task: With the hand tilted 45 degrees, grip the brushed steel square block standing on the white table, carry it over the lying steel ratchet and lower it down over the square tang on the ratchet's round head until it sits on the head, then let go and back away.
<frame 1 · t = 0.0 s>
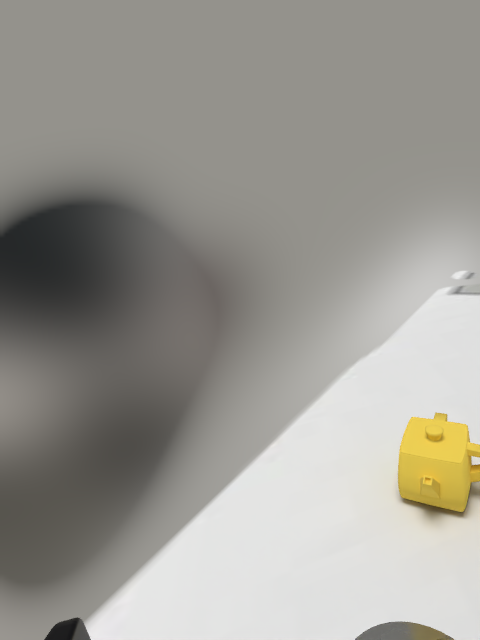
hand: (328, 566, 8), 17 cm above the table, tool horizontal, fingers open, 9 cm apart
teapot: (445, 494, 30), on the table
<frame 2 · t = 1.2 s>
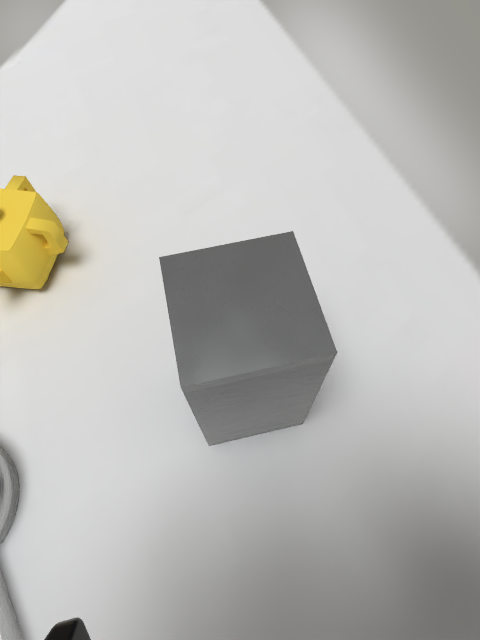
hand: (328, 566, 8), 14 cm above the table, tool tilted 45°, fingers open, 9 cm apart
brushed steel square block: (245, 389, 23), on the table
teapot: (38, 266, 28), on the table
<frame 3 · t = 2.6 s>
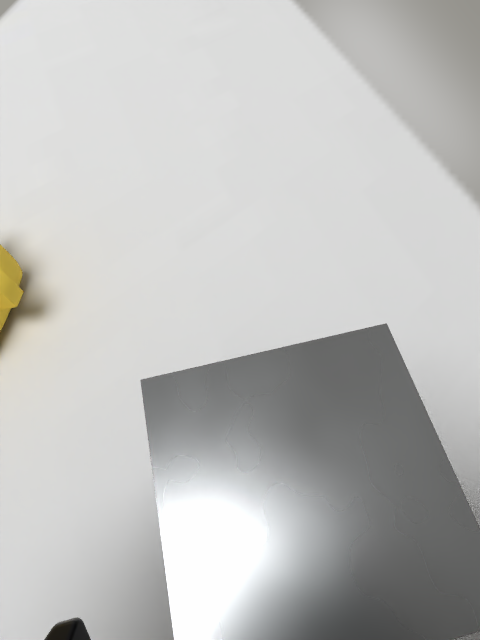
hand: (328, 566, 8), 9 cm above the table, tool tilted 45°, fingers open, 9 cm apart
brushed steel square block: (275, 510, 16), on the table
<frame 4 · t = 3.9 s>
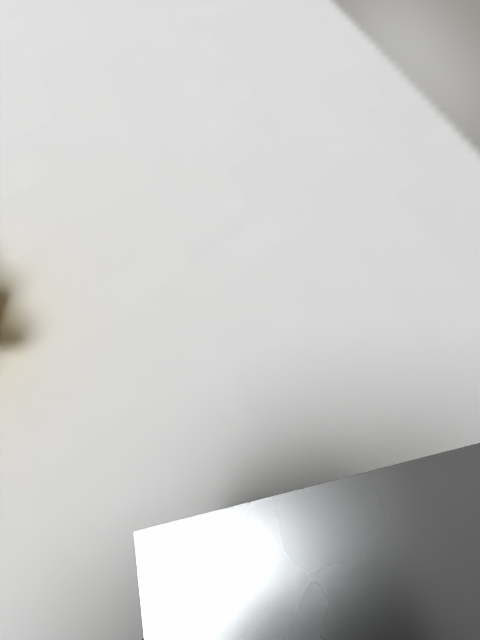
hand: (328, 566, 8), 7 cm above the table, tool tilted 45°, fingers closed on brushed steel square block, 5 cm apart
brushed steel square block: (307, 599, 13), on the table, touching gripper
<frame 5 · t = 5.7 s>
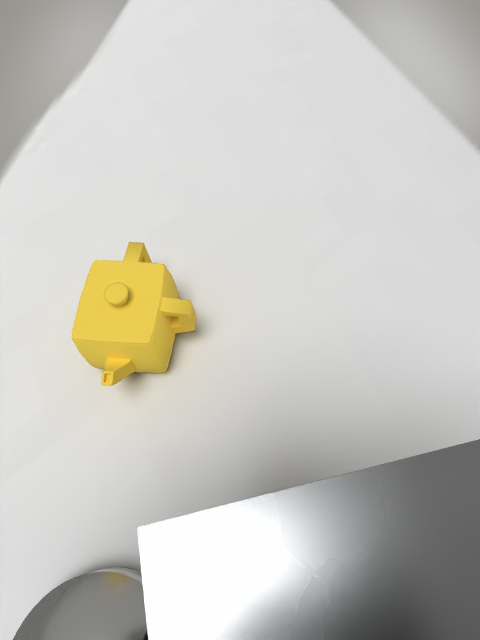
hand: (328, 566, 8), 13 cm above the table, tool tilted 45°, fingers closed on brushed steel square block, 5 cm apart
brushed steel square block: (307, 597, 13), point 6 cm above the table, touching gripper
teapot: (152, 341, 24), on the table
when the fingers open (9 cm above the table, at t = 7.5 s): brushed steel square block stays where it is, resting on ratchet.
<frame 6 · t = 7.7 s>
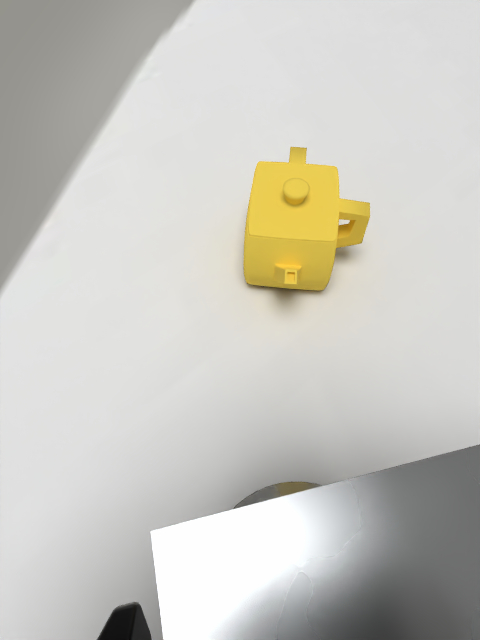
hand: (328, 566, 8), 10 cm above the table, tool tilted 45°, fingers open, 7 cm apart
brushed steel square block: (304, 593, 14), point 2 cm above the table, touching ratchet
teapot: (297, 262, 22), on the table
ratchet: (296, 585, 16), on the table, touching brushed steel square block
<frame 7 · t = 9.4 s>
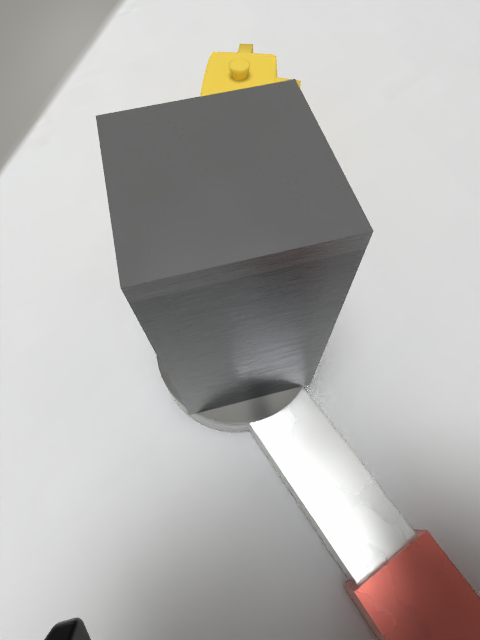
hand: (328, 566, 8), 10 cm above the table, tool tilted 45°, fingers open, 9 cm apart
brushed steel square block: (235, 344, 18), point 2 cm above the table, touching ratchet
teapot: (250, 148, 27), on the table
ratchet: (236, 359, 20), on the table, touching brushed steel square block
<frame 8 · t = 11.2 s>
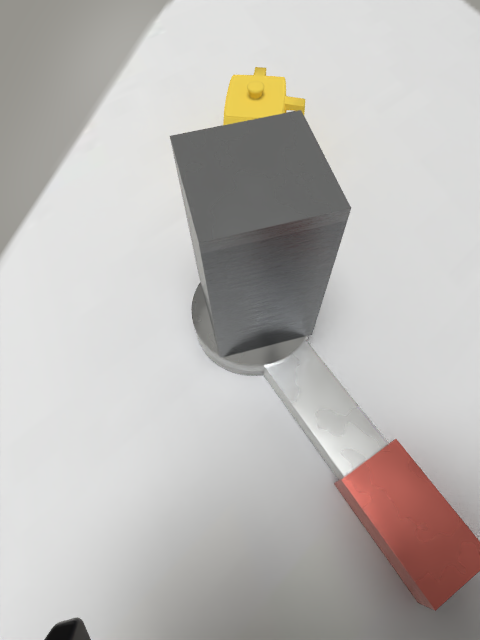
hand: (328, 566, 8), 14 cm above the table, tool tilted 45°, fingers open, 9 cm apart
brushed steel square block: (253, 306, 23), point 2 cm above the table
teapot: (262, 153, 32), on the table
ratchet: (252, 322, 25), on the table
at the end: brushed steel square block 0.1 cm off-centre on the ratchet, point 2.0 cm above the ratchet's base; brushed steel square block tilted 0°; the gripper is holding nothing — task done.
